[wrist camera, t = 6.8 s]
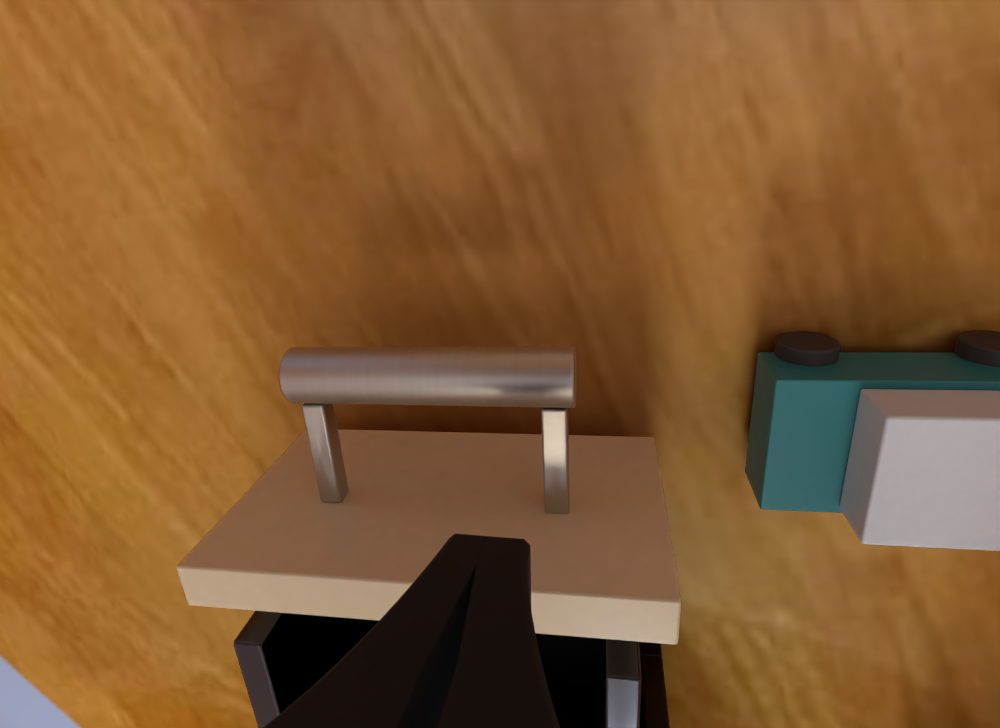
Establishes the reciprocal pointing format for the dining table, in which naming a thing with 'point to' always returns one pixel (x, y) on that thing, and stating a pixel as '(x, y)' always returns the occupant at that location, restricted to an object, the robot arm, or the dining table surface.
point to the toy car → (882, 439)
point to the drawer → (444, 524)
